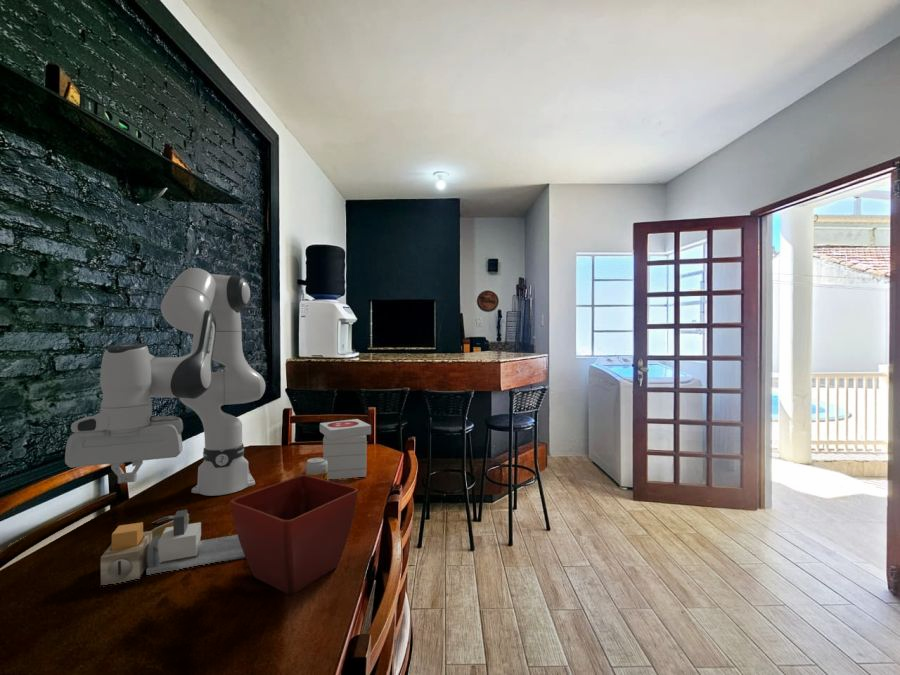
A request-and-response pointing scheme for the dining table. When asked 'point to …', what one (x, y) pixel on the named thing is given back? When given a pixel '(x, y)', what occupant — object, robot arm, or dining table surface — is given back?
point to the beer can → (317, 468)
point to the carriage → (179, 539)
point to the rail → (207, 554)
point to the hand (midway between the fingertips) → (127, 481)
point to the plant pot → (294, 530)
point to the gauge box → (125, 562)
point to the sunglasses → (164, 526)
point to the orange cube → (127, 536)
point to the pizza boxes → (345, 447)
